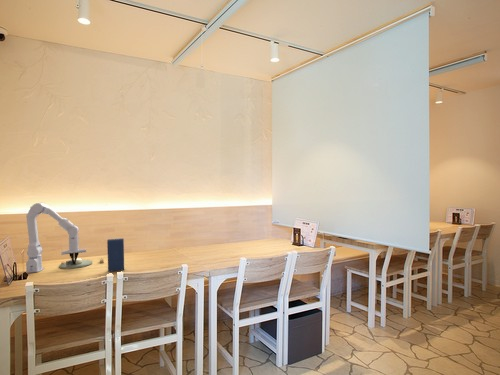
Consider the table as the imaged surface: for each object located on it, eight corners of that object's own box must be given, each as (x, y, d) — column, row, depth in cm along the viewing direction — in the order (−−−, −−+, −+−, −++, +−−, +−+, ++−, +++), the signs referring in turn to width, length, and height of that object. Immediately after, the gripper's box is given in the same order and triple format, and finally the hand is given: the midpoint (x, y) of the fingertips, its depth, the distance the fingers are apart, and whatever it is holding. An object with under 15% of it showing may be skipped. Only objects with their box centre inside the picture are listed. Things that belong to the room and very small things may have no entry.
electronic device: (124, 268, 209) (123, 238, 208) (124, 270, 204) (123, 239, 203) (108, 269, 205) (107, 239, 205) (107, 272, 201) (107, 240, 200)
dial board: (87, 267, 212) (87, 264, 212) (54, 269, 208) (54, 266, 208) (95, 260, 231) (95, 257, 231) (65, 262, 227) (65, 259, 227)
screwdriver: (103, 263, 224) (103, 260, 224) (100, 263, 223) (100, 260, 223) (103, 259, 234) (103, 256, 234) (99, 259, 234) (99, 256, 233)
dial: (76, 261, 224) (76, 257, 224) (84, 262, 222) (84, 257, 222) (62, 265, 213) (62, 261, 213) (71, 266, 211) (71, 261, 211)
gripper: (85, 241, 221) (86, 261, 221) (61, 244, 214) (62, 264, 214) (86, 243, 214) (86, 263, 215) (61, 245, 207) (61, 266, 208)
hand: (74, 264), depth 214 cm, fingers closed
